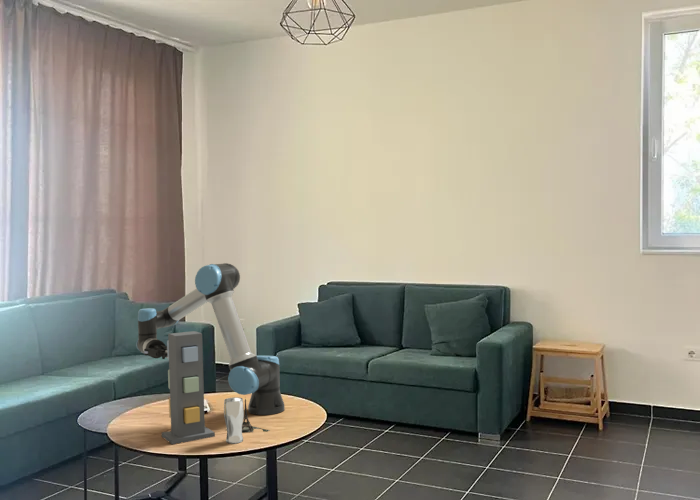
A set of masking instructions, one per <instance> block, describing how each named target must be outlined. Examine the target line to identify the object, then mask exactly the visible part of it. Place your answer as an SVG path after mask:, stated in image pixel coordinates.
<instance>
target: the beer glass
mask: <svg viewBox="0 0 700 500" xmlns="http://www.w3.org/2000/svg"><path fill="white" fill-rule="evenodd" d="M223 401H224V403H223V417H224V422H225V426H226V427H225V428H226V429H227V430H226V440H225V442H226V444H231V445H234V444H241V443H242V442H243V441H244V437H243V433H242V424H243V421H244V414H245V406H244V399H243V398H242V397H238V396H237V397H235V396H234V397H233V396H232V397H227V398H225V399H223Z"/></svg>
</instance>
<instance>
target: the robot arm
mask: <svg viewBox="0 0 700 500" xmlns="http://www.w3.org/2000/svg"><path fill="white" fill-rule="evenodd" d="M240 274H241V273H240V271H239V270H238V268H237V267H236V266H235V265H234V264H231V263H227V262H226V263H225V262H224V263H215V264H214V263H211V264H207V265H206V264H205V265H204V266H201V268H199V269H198V271H197V272H196V275H195V277H194V285H195V289H193V290H192V291H190V292H189V293H188V294H186V295H184V296H182V297H181V298H179V299H178V300H177V301H175V302H174V303H172V304H170V305H169V306H166V307H165V308H164V309H163V310H159V311H157V309H156V308H152V307H148V308H140V309H139V310H138V311H137V328H138V329H137V331H138V333H137V334H138V335H137V337H138V338H137V340H136V343H135V344H136V345H135V347H136V349H137V350H138V351H139V352H140V353H142V354H143V355H144V356H149V357H150V358H152V359H160V358H161V360H165V359H168V354H167V344H165V343H164V341H162V340H160V339H157V338H158V336H157V335H158V332H157V331H158V330H159V329H164V328H169V327H170V328H171V327H173V326H176V325H178V323H179V321H180V320H181V319H183V318H184V317H186V316H188V315H189V314H192V313H193V312H194V311H196V310H197V309H199V308H200V307H202V306H204V305H205V304H207V303H209V304H211V306H212V309H213V311H214V315H215V318H216V320H217V324H218V328H219V330H220V332H221V335H222V339H223V341H224V344H225V347H226V350H227V353H228V356H229V358H230V361H229V364H228V369H229V370H230V371H229V373H228V377H227V382H228V385H229V387H230V388H231V390H232V391H233V392H235V393H237V394H238V395H243V396H245V395H250V399H249V402H248V406H247V409H248V410H247V413H249V414H252V415H255V416H256V415H258V416H265V415H266V416H267V415H268V416H269V415H275V414H276V415H277V414H279V413H282V412H284V411H285V409H286V408H285V402H284V399H283V396H282V394H281V386H280V385H281V384H280V382H281V381H280V379H281V378H280V359H279V357H278V356H275V355H257V354H255V353H253V352H252V351H251V348H250V344H249V343H248V339H247V337H246V336H247V335H246V333H245V331H244V328H243V324H242V322H241V319H240V316H239V314H238V309H237V308H236V305H235V301H234V299H233V296H234V293H235V291H234V290H235V289H236V288H237V286H238V285H239V283H240V279H241V275H240Z"/></svg>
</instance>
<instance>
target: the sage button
mask: <svg viewBox="0 0 700 500" xmlns="http://www.w3.org/2000/svg"><path fill="white" fill-rule="evenodd" d="M167 377H168V378H167V381H168V383H167V384H168V386H167V387H168V389H169V390H170V375H169V369H168V370H167ZM182 387H183V392H184V393H190V392H196V391H199V377H197V376H188V377H182Z"/></svg>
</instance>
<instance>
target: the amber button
mask: <svg viewBox="0 0 700 500" xmlns="http://www.w3.org/2000/svg"><path fill="white" fill-rule="evenodd" d="M168 412H169V413H168V414H169V415H168V417H169V418H170V419H171V408H170V398H168ZM183 421H184V422H185V423H186V424H188V423H193V422H199V421H200V408H199V407H198V406H191V407H185V408H183Z"/></svg>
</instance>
